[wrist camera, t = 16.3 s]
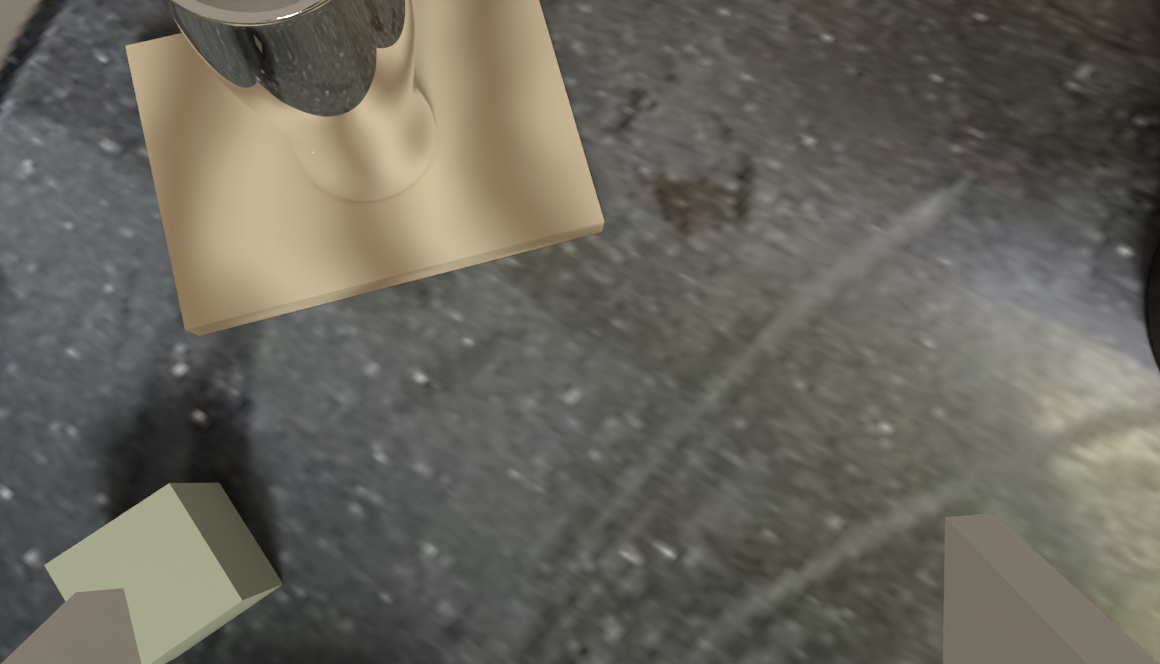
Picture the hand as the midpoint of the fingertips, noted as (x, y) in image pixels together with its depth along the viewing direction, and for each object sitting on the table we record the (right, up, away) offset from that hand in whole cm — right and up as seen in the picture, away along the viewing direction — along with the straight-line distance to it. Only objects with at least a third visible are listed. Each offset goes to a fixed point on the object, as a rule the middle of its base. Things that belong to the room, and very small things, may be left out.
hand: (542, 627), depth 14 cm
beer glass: (-9, +13, +24) cm, 28 cm away
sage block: (-15, -5, +22) cm, 27 cm away
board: (-9, +13, +25) cm, 30 cm away
